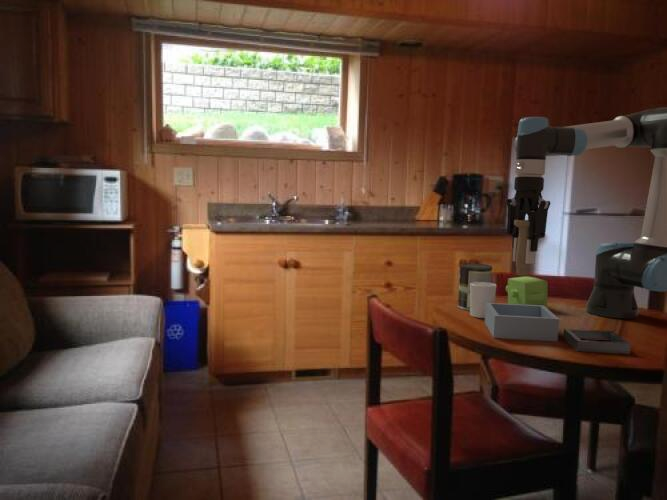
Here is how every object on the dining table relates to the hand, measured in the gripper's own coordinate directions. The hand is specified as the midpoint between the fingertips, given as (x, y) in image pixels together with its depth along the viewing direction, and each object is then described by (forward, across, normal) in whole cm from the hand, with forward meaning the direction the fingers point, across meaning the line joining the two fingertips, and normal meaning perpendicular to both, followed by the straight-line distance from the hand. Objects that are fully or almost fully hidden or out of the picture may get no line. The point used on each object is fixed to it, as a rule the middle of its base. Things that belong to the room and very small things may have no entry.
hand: (523, 261), depth 155 cm
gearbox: (+20, -24, +27) cm, 41 cm away
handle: (+4, 0, 0) cm, 4 cm away
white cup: (+20, -18, +3) cm, 27 cm away
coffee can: (+20, -28, +9) cm, 35 cm away
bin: (+20, 0, 0) cm, 20 cm away
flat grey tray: (+20, +18, +8) cm, 28 cm away
